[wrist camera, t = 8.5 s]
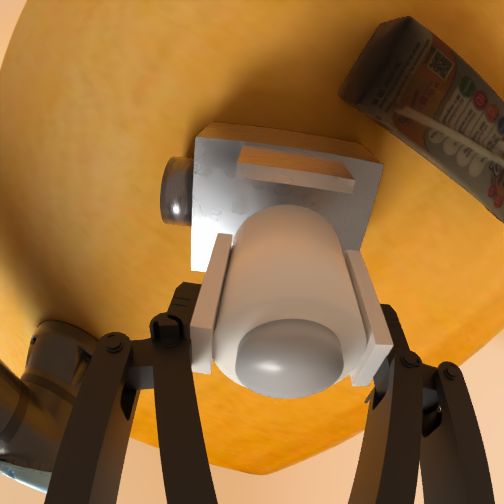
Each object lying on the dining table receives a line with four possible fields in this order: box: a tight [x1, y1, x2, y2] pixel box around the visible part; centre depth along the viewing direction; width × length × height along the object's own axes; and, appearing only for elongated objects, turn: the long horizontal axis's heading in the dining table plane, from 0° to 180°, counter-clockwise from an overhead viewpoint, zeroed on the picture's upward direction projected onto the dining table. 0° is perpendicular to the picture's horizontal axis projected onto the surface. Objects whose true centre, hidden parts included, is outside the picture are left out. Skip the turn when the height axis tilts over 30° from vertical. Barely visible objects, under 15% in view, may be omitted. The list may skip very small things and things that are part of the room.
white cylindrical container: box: [212, 205, 367, 399], centre depth 14 cm, size 6×6×8 cm
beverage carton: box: [338, 16, 504, 223], centre depth 19 cm, size 8×19×7 cm, turn 64°
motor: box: [160, 122, 384, 272], centre depth 22 cm, size 14×10×10 cm
